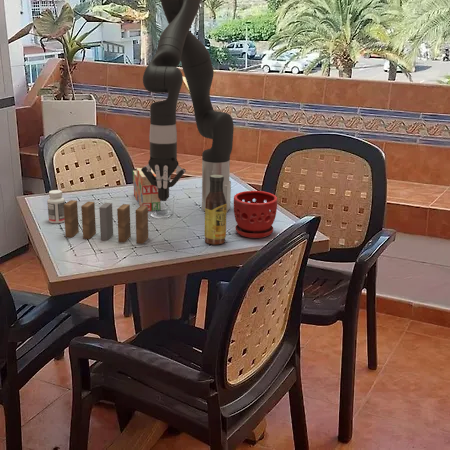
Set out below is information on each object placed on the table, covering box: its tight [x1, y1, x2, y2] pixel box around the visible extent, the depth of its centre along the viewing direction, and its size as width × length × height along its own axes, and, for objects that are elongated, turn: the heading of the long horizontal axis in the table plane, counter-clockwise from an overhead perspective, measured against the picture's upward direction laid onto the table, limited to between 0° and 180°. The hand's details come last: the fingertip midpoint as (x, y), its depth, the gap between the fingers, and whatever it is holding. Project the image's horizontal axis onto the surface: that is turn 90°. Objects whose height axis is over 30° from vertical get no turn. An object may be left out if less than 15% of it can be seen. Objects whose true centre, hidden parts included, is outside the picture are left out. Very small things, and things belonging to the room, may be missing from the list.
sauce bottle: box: [203, 175, 228, 246], centre depth 188 cm, size 6×6×20 cm
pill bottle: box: [46, 189, 66, 224], centre depth 206 cm, size 5×5×10 cm
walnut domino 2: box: [80, 201, 97, 240], centre depth 193 cm, size 2×5×10 cm, turn 169°
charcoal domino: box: [98, 202, 114, 242], centre depth 192 cm, size 2×5×10 cm, turn 169°
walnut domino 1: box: [64, 199, 80, 238], centre depth 194 cm, size 2×5×10 cm, turn 168°
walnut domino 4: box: [135, 205, 149, 245], centre depth 190 cm, size 2×5×10 cm, turn 169°
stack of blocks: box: [132, 167, 162, 212], centre depth 228 cm, size 21×6×12 cm, turn 16°
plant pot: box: [233, 190, 278, 239], centre depth 197 cm, size 13×13×12 cm
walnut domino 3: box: [116, 203, 132, 243], centre depth 191 cm, size 2×5×10 cm, turn 168°
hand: (163, 200), depth 186 cm, fingers closed
